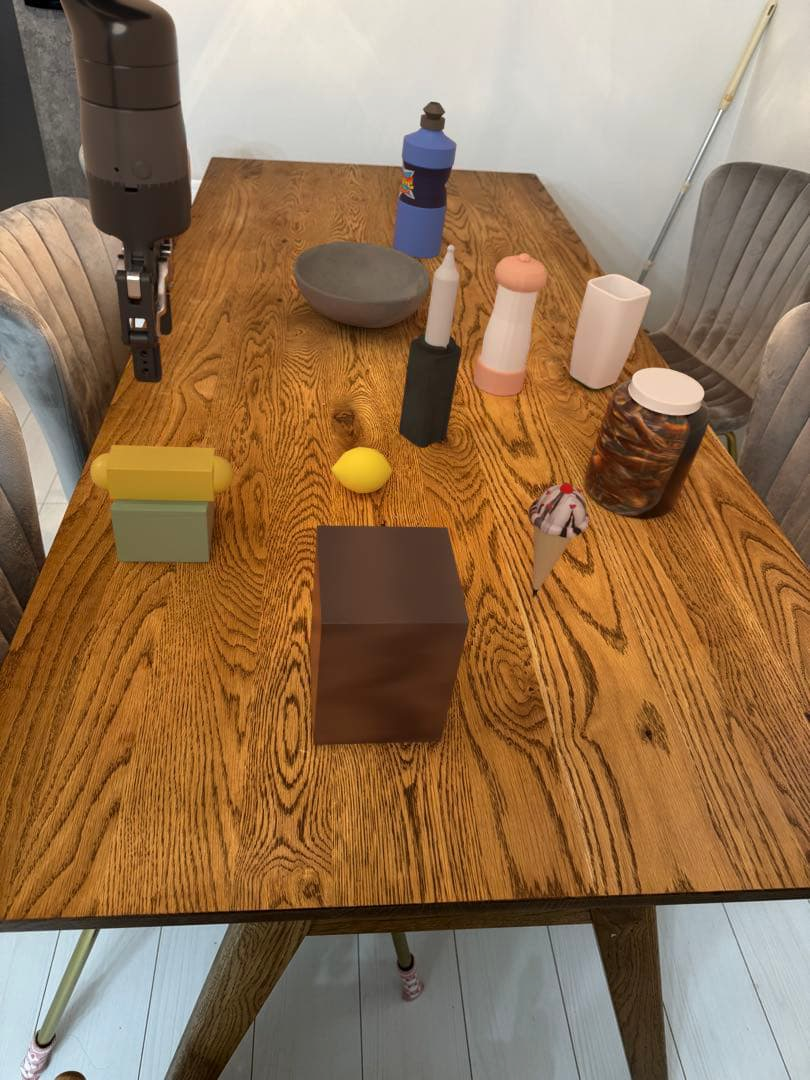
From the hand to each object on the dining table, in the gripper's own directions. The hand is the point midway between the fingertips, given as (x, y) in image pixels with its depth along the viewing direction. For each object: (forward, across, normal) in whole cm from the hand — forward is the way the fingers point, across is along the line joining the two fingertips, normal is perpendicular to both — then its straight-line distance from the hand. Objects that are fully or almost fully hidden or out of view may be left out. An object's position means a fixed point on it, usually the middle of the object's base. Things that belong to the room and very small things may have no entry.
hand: (154, 355), depth 72 cm
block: (+21, -1, 0) cm, 21 cm away
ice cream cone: (+21, +9, +38) cm, 44 cm away
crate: (+21, +21, +20) cm, 36 cm away
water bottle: (+21, -84, +37) cm, 94 cm away
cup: (+21, -37, +58) cm, 72 cm away
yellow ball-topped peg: (+15, -1, 0) cm, 15 cm away
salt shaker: (+21, -35, +43) cm, 59 cm away
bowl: (+21, -54, +24) cm, 63 cm away
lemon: (+21, -9, +21) cm, 31 cm away
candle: (+21, -21, +30) cm, 42 cm away
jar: (+21, -10, +55) cm, 60 cm away
